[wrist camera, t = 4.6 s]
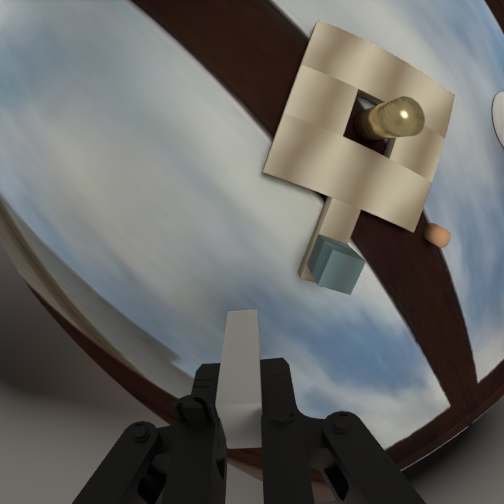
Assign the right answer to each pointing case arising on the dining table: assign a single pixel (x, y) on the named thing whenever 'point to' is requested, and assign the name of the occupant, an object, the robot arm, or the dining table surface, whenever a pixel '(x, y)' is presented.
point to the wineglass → (499, 116)
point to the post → (390, 119)
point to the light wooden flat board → (354, 147)
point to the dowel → (437, 235)
